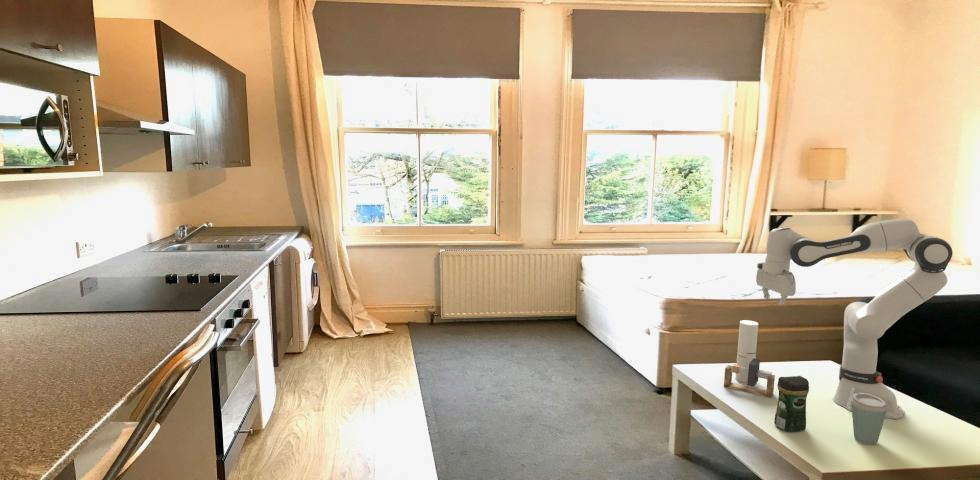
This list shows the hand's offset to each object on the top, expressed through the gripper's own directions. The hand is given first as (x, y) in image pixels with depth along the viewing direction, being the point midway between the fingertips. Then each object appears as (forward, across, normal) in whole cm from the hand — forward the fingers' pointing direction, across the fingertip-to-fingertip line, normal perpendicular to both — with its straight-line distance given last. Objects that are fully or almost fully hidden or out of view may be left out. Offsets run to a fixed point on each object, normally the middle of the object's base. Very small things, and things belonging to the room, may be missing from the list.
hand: (773, 301), depth 229 cm
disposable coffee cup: (+37, -45, -6) cm, 58 cm away
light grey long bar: (+30, -1, +9) cm, 31 cm away
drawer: (+37, -1, +9) cm, 38 cm away
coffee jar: (+37, -33, +13) cm, 51 cm away
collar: (+33, -2, +8) cm, 34 cm away
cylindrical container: (+37, +10, +3) cm, 38 cm away
